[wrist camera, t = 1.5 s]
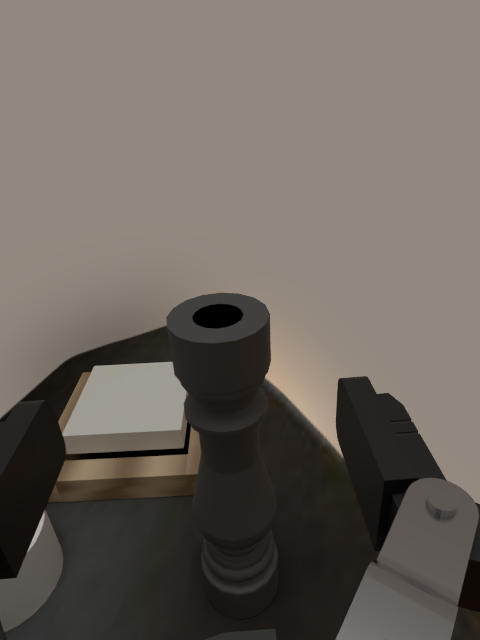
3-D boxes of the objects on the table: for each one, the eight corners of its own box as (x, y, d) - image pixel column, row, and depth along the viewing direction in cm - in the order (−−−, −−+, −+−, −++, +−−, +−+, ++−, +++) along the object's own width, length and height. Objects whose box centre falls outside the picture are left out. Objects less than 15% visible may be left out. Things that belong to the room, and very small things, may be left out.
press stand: (36, 503, 44) (27, 482, 42) (88, 390, 59) (83, 372, 58) (214, 494, 43) (212, 473, 42) (219, 383, 59) (217, 365, 58)
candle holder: (292, 599, 34) (294, 328, 22) (218, 633, 33) (176, 358, 20) (260, 533, 39) (248, 283, 27) (195, 559, 38) (150, 304, 25)
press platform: (67, 454, 45) (61, 436, 43) (98, 382, 55) (94, 366, 54) (183, 448, 44) (180, 429, 43) (192, 377, 55) (190, 360, 54)
